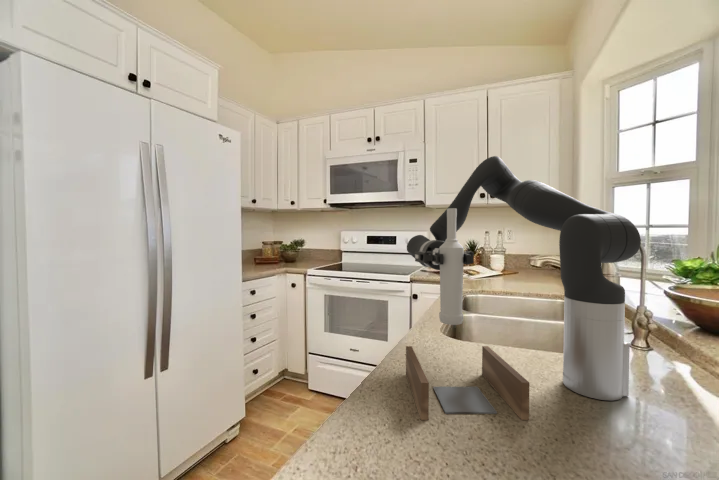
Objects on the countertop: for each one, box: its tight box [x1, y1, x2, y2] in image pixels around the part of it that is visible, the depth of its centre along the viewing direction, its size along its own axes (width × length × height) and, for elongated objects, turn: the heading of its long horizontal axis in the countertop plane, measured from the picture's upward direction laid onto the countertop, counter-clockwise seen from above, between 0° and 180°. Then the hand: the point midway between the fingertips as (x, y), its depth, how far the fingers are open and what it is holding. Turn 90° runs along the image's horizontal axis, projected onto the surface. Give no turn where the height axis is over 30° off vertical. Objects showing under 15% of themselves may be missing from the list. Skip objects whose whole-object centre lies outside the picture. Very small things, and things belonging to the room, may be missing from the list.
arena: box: [405, 345, 530, 421], centre depth 58 cm, size 17×16×6 cm
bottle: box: [438, 207, 465, 326], centre depth 69 cm, size 5×5×25 cm
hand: (455, 259), depth 67 cm, fingers closed on bottle, 5 cm apart
